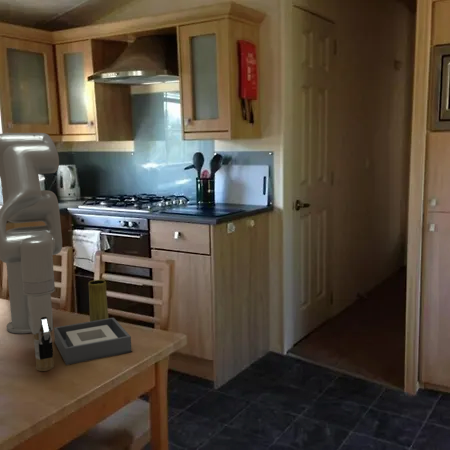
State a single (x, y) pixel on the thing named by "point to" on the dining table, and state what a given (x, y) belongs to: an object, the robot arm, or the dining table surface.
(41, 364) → the sprinkles bottle
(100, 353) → the open box
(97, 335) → the block
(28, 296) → the robot arm
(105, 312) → the vase
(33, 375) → the dining table surface
